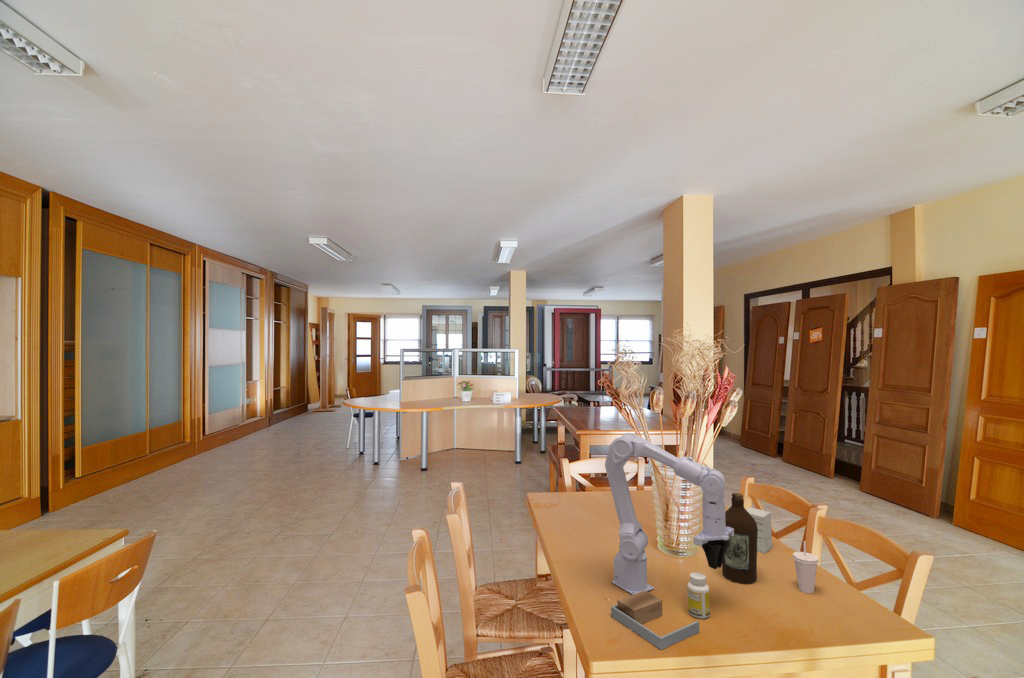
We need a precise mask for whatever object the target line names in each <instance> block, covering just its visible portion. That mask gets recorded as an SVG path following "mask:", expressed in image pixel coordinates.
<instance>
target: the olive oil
mask: <svg viewBox="0 0 1024 678" xmlns="http://www.w3.org/2000/svg"><path fill="white" fill-rule="evenodd" d="M744 502H745V499H744V495H743V494H742V493H739V492H733V493H731V505H730V506H729V508H728V509H727V510H725V523H726V527H730V528H733V529H734V536H729V539H728V540H729V541H730V545H729V546H728V548H727V550H726V552H725V555H724V558H723V562H722V566H721V568H722V571H721V572H722V576H723V577H724V578H725V579H726V580H728V581H730V580H731V582H733V583H736V582H737V584H742V585H743V584H744V585H750V584H754V583H756V582H757V578H758V576H757V575H758V572H757V571H758V567H757V566H758V565H757V563H758V552H757V536H758V528H757V524H756V521H755V520H754V518H753V517H752V516H751V515H750V514H749V513H748V512H747V509H746V508H745V507H744V506H745V505H744Z"/></svg>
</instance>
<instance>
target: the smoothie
mask: <svg viewBox="0 0 1024 678" xmlns="http://www.w3.org/2000/svg"><path fill="white" fill-rule="evenodd" d="M802 542H803V551H795V552H793V553H792V559H793V560H794V566H795V567H794V568H795V571H796V577H797V578H796V579H797V585H798V590H799V591H800V592H802V593H804V594H805V593H806V594H814V592H815V587H816V578H817V569H818V564H819V562H820V561H819V557H818V556H817V555H814V554H813V553H809V552H807V547H806V546H807V543H806V542H807V541H805V540H803V541H802Z"/></svg>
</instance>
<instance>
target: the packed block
mask: <svg viewBox="0 0 1024 678" xmlns="http://www.w3.org/2000/svg"><path fill="white" fill-rule="evenodd" d="M617 609H618V610H620V611H621V612H623V613H624V614H626V615H627V616H629V617H631V618H632V619H634V620H635V621H637V622H638V623H640V624H641V625H643V624H646V623H649V622H651V621H654V620H656V619H658V618H660V617H662V616H663V600H662V599H661V598H659V597H658V596H656V595H654V594H652V593H650V592H649V591H645V590H644V591H642V592H639V593H636V594H633V595H632V594H630V595H628V596H626V597H623V598H620V599H617Z"/></svg>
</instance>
